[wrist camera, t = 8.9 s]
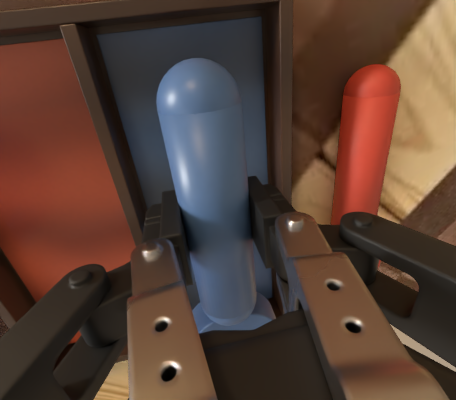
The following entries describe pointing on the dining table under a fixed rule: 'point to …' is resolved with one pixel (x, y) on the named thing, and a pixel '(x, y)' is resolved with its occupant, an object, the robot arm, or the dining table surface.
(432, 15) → the dining table surface
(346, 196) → the red disc-ended rod
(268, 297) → the sorting tray
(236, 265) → the blue round-ended rod
